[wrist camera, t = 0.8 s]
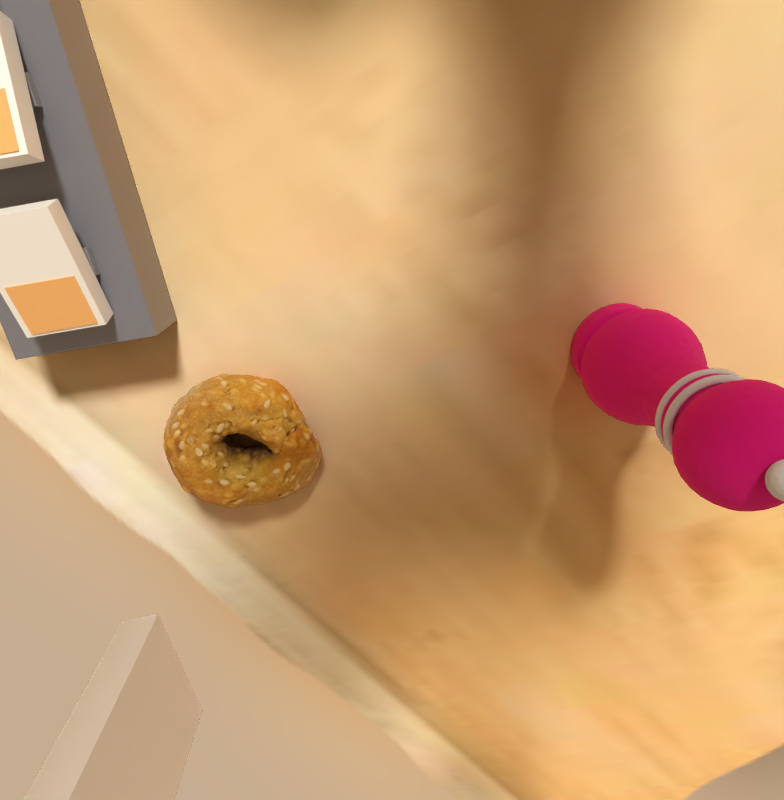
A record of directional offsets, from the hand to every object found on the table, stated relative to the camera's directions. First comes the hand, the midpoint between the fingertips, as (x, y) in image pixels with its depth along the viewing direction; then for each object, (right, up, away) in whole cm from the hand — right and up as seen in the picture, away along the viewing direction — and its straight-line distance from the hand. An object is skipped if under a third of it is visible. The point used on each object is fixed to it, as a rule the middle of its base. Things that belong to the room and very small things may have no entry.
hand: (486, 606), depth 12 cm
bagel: (-12, +2, +32) cm, 34 cm away
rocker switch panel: (-23, +22, +23) cm, 39 cm away
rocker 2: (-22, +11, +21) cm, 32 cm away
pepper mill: (+14, +8, +30) cm, 34 cm away
